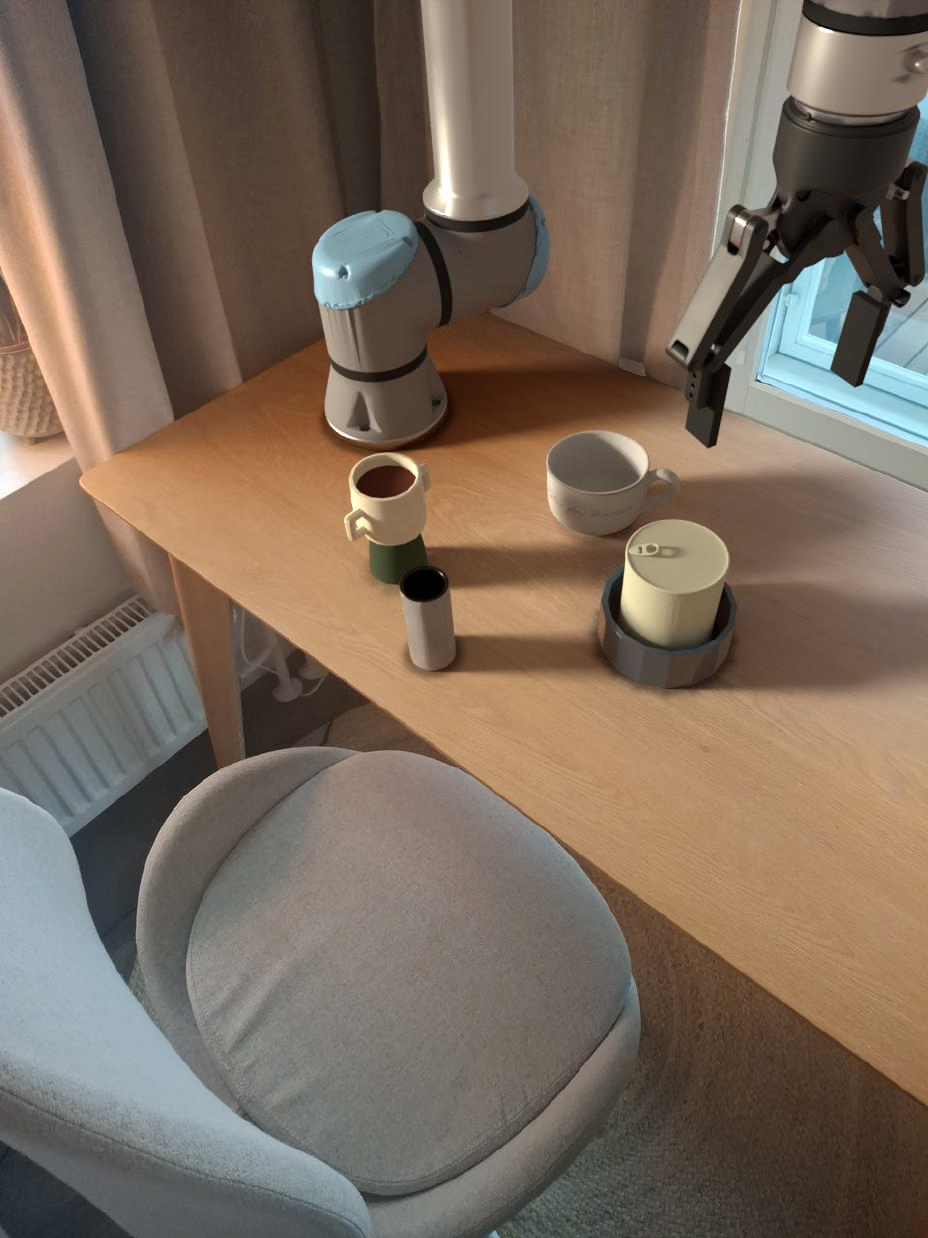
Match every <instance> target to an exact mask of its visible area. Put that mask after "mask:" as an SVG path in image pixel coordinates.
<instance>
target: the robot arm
mask: <svg viewBox="0 0 928 1238" xmlns="http://www.w3.org/2000/svg"><path fill="white" fill-rule="evenodd" d="M420 8H421V20H422V31H423V32H422V33H423V43H424V46H423V47H424V56H425V69H426V70H425V71H426V81H427V94H428V97H427V98H428V107H429V120H430V132H431V134H430V135H431V145H432V146H431V147H432V157H433V158H432V159H433V170H434V171H433V172H434V178H433V179H432V180H431V181H430V182H429V183H428V185H426V186H425V188H424V190H423V192H422V201H423V202H422V205H423V217H422V218H419V219H415V220H412V219H410V218H409V217H408V216H407V215H405V213H402V212H399V211H396V210H389V209H383V210H381V211H380V212H377V210H373V209H372V210H366V211H362V212H359V213H356V214H353V215H350V216H348V217H345V218H344V219H341V220H339V221H338V222H336V223H335V224H333V225H332V226H331V227H329V228H328V229H327V230H326V231H325V232H324V233H322V235H321V236H320V238H319V240H318V242H317V243H316V244H315V246H314V248H313V252H312V257H311V265H312V274H313V293H314V296H315V298H316V300H317V302H318V308H319V314H320V318H321V324H322V328H323V334H324V338H325V344H326V349H327V353H328V357H329V364H330V365H329V367H330V368H329V373H328V377H327V378H328V379H327V385H326V391H325V396H324V409H323V410H324V415H325V419H326V423H327V426H328V429H329V430H330V432H331V434H333V436H334V437H335V438H337V439H338V440H339V441H341V442H342V443H344V444H346V445H348V446H351V447H354V448H357V449H359V450H360V449H361V450H365V451H375V452H378V451H381V452H383V451H384V452H385V451H394V450H399V449H404V448H407V447H410V446H413V445H414V446H415V445H416V444H418V443H421V442H423V441H424V440H426V439H428V438H429V437H430V436H432V435H434V434H435V433H436V432H437V431H438V430H439V429H440V427H441V426H442V425H443V423H444V422H445V421H446V420H445V419H446V418H447V415H448V408H449V406H448V395H447V391H446V388H445V385H444V382H443V380H442V379H441V376H440V374H439V372H438V371H437V369H436V366H435V364H434V362H433V360H432V359H431V356H430V355H429V354H430V353H429V351H428V342H427V333H428V332H430V331H433V330H435V329H438V328H441V327H444V326H447V325H451V324H453V323H456V322H460V321H461V320H465V319H467V318H471V317H473V316H477V315H479V314H482V313H484V312H488V311H491V310H494V309H502V308H506V307H509V306H511V305H512V304H514V303H515V302H516V301H520V300H522V299H525V298H527V297H529V296H531V295H532V294H533V293H534V292H536V291H537V289H538V288H540V286H541V284H542V282H543V280H544V279H545V277H546V273H547V270H548V266H549V262H550V253H551V241H550V231H549V228H548V227H546V226H545V225H546V221H547V218H546V215H545V212H544V209H543V207H542V205H541V203H540V202H539V200H538V199H537V197H536V196H535V195H533V194H532V193H531V192H530V190H529V187H528V184H527V183H526V181H525V180H524V179H523V178H522V177H521V176H519V175H518V174H517V173H516V171H515V121H514V120H515V118H514V117H515V116H514V49H513V47H514V45H513V43H514V41H513V40H514V39H513V38H514V37H513V0H420ZM785 88H786V90H787V92H788V93H789V96H788V97H787V98H786V99H785V100H784V101H783V103H782V105H781V106H782V107H781V112H780V116H779V121H778V127H777V131H776V136H775V141H774V146H773V151H772V156H771V157H772V165H773V170H774V174H775V178H776V185H775V186H776V187H775V189H774V192H773V195H772V196H771V198H770V200H769V202H768V203H767V204H766V207H761V208H756V209H748V208H747V207H745V206H744V205H742V204H741V203H736V204H734V205H732V206H731V208H730V209H729V210H728V211H727V214H726V216H725V220H724V225H723V229H722V232H721V237H720V240H719V244H718V246H717V248H716V249H715V251H714V253H713V255H712V257H711V259H710V261H709V262H708V264H707V267H706V269H705V270H704V272H703V275H702V276H701V278H700V280H699V282H698V284H697V286H696V287H695V290H694V292H693V294H692V296H691V297H690V300H689V301H688V303H687V306H686V307H685V309H684V310H683V313H682V315H681V317H680V319H679V321H678V323H677V324H676V327H675V328H674V330H673V332H672V334H671V336H670V337H669V340H668V342H667V343H666V346H665V350H664V351H665V354H666V355H667V356H668V357H669V358H670V359H672V360H673V361H674V362H675V363H677V364H678V365H679V366H680V367H682V369H684V370H685V371H686V372H687V375H686V384H685V387H684V393H683V395H684V399H685V400H686V401H687V402H688V407H687V414H686V419H685V424H684V425H685V426H684V429H685V430H686V431H687V432H688V433H689V434H690V435H692V437H694V438H695V439H696V440H697V441H698V442H700V443H701V444H702V445H703V446H704V447H705V448H706V449H707V450H708V449H711V448H714V447H716V446H717V444H718V439H719V434H720V428H721V423H722V418H723V414H724V409H725V405H726V399H727V394H728V389H729V385H730V379H731V374H732V369H733V368H732V367H731V366H730V365H728V364H727V363H726V361H727V360H728V359H729V358H730V356H731V355H732V354H733V352H734V351H735V350H736V348H737V347H738V346H739V344H740V343H741V342H742V340H743V339H744V338H745V336H746V335H747V334H748V333H749V331H750V330H751V329H752V327H753V326H754V325H755V324H756V322H757V321H758V319H759V318H760V317H761V315H762V314H763V313H764V311H765V310H766V308H768V306H769V305H770V303H771V302H772V301H773V300H774V299H775V297H776V295H777V294H778V293H779V292H780V290H781V289H782V288H783V287H784V286H785V285H789V284H792V283H794V282H795V281H796V280H797V279H798V277H799V276H801V274H802V272H803V271H804V269H806V268H810V267H812V266H815V265H817V264H818V263H820V262H822V261H823V260H824V259H832V258H833V259H834V258H837V257H840V256H842V255H844V254H846V257H848V259H849V261H850V263H851V265H852V267H853V268H854V270H855V272H856V274H857V275H858V277H859V279H860V281H861V283H862V285H863V287H864V288H866V290H867V292H865V291H864V290H862V289H859V290H857V291H854V292H852V294H851V298H850V301H849V304H848V308H847V311H846V314H845V318H844V321H843V325H842V328H841V330H840V334H839V338H838V341H837V345H836V348H835V351H834V355H833V358H832V361H831V364H830V368H829V371H831V373H832V374H835V375H836V376H838V377H839V378H840V379H841V380H843V381H844V382H846V383H847V384H849V385H850V386H851V387H853V389H854V388H855V389H856V388H858V387H860V386H862V385H864V381H865V378H866V375H867V373H868V369H869V367H870V363H871V361H872V357H873V355H874V352H875V349H876V346H877V343H878V340H879V338H880V337H881V335H882V333H883V332H884V329H885V326H886V323H887V320H888V318H889V314H890V311H891V309H892V305H893V306H894V307H896V308H898V309H902V308H904V307H905V306H906V305H907V304H908V303H909V301H910V299H911V297H912V293H911V292H910V291H908V290H906V289H905V288H907V287H908V286H910V287H911V288H916V287H918V286H919V285H920V284H921V283H922V282H923V281H924V279H925V276H926V260H925V259H926V258H925V242H924V240H925V239H924V223H923V204H922V201H923V200H922V198H923V197H922V196H923V192H924V188H925V185H926V181H927V177H928V165H927V164H924V163H922V162H920V161H918V160H917V159H914V158H912V157H910V156H909V155H910V151H911V148H912V145H913V141H914V139H915V135H916V133H917V130H918V126H919V122H920V119H921V110H920V108H919V105H918V104H920V103H921V102H922V101H924V99H925V98H926V97H927V94H928V0H803V1H802V6H801V13H800V18H799V23H798V27H797V32H796V36H795V41H794V46H793V50H792V56H791V61H790V65H789V70H788V74H787V79H786V87H785ZM878 208H879V215H880V223H881V224H880V225H881V232H880V231H879V228H878V225H877V224H876V222H875V220H874V219H875V215H874V213H876V211H877V209H878ZM881 241H882V242H881ZM882 244H883V245H882ZM775 247H776V248H777V250H778V252H779V254H780V255H781V256H782V257H784V258H786V259H787V260H786V261H784V262H781V261H780V260H778V259H776V258H775V257H773V256H771V253H772V251H773V250H774V248H775ZM713 346H714V347H713ZM712 347H713V348H712Z"/></svg>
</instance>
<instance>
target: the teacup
mask: <svg viewBox="0 0 928 1238" xmlns="http://www.w3.org/2000/svg"><path fill="white" fill-rule="evenodd" d="M545 466H546V471H547V473H546V490H547V491H546V492H547V503H548V505H549V508H550V511H551V513H552V514H553V516H554V518H555V519H556V520H557V521H558V523H560V524H561V525H563V526H564V527H566V528H567V529H569V530H571V531H573V532H576V533H579V534H581V535H584V536H592V537H600V536H607V535H610V534H614V533H617V532H620V531H622V530H624V529H626V528H627V527H629V526H630V525H631V524H633V522H634V521H635V520H636V519H637V518H638V517H639V514H643V513H647V512H648V511H649V510H651V509H654V508H658V507H662V506H664V505H666V504H669V503H671V502H673V501H674V500H675V499H676V498H677V497H678V495H679V493H680V489H681V482H680V478H679V476H678V475H677V473H676V472H674V471H673V470H670V469H669V468H663V467H662V468H655V469H651V460H650V455H649V453H648V451H647V450H646V448H645V447H644V446H643V445H642V444H641V443H640V442H638V441H637V440H635V439H634V438H631V437H630V436H628V435H625V434H623V433H619V432H615V431H611V430H604V429H603V430H602V429H601V430H600V429H598V430H597V429H596V430H593V429H591V430H585V431H579V432H575V433H571V434H570V435H566V436H565V437H563V438H562V439H559V441H558V442H556V443H555V444H554V445H553V446H552V447H551V448H550V450H549V451H548V452H547V456H546V462H545ZM650 469H651V470H650ZM657 481H662V482H665V483H667V484H668V485H669V486H670V488H669V489H668V490H667V491H666V492H664V493H661V494H657V495H654V496H649V497H648V496H646V492H647V491H648V490H649V489H650V488H651V487H652V484H653V483H655V482H657Z"/></svg>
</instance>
